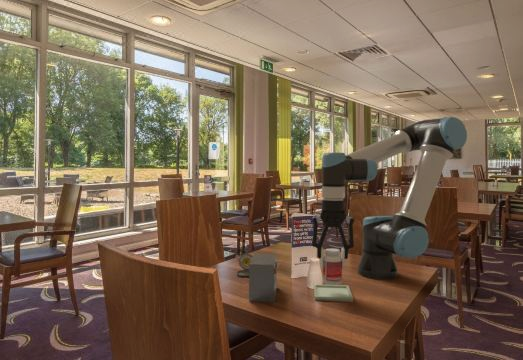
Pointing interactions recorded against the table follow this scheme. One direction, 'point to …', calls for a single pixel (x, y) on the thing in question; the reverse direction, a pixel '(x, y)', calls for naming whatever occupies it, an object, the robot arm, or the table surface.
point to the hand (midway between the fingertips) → (332, 267)
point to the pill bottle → (332, 267)
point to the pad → (333, 293)
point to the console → (263, 277)
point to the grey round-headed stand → (244, 259)
